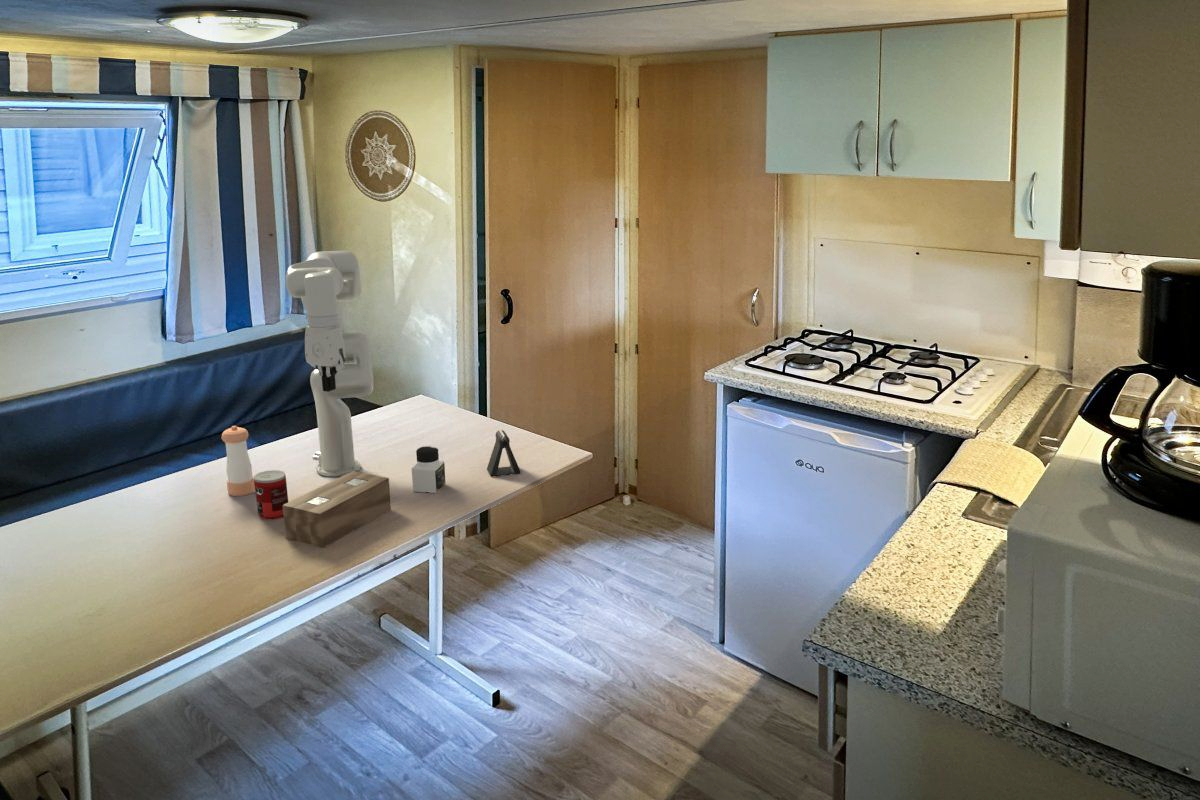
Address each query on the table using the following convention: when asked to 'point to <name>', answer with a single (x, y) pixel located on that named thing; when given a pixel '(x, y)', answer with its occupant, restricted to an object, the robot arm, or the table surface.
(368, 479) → the walnut block
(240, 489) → the pepper shaker
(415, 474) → the medicine bottle
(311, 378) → the robot arm
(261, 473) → the canned food
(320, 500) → the pin
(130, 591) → the table surface
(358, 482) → the pin
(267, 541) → the table surface
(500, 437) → the phone stand
